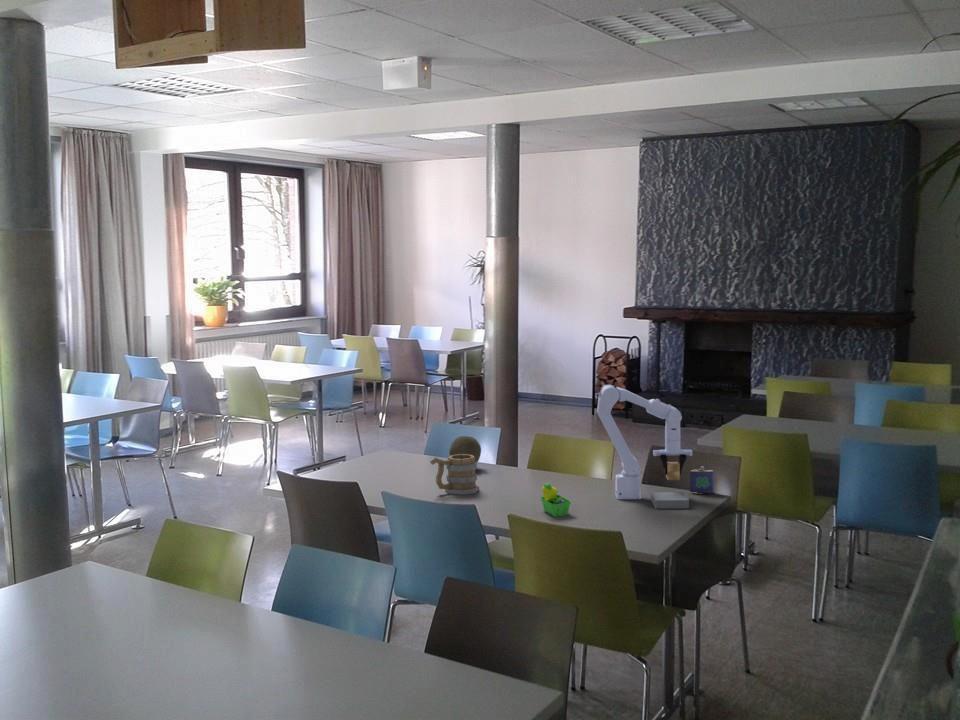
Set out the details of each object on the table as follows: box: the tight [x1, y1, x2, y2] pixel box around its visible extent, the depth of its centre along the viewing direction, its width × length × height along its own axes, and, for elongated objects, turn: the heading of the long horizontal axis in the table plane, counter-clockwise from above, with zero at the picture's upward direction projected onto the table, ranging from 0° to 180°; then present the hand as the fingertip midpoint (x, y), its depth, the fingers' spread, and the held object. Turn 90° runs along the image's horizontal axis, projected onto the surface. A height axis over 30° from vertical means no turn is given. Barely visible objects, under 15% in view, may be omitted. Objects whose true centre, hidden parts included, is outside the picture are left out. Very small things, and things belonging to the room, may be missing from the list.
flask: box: [689, 465, 715, 495], centre depth 341 cm, size 9×3×11 cm, turn 87°
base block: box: [650, 491, 690, 509], centre depth 326 cm, size 12×12×3 cm
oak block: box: [665, 461, 681, 481], centre depth 336 cm, size 4×4×6 cm
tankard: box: [429, 454, 480, 496], centre depth 351 cm, size 20×13×15 cm, turn 115°
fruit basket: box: [540, 482, 572, 517], centre depth 317 cm, size 11×9×11 cm
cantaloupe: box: [448, 435, 482, 464], centre depth 392 cm, size 14×14×15 cm
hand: (672, 474), depth 336 cm, fingers closed on oak block, 4 cm apart
